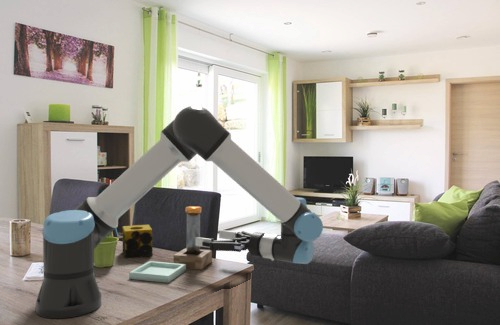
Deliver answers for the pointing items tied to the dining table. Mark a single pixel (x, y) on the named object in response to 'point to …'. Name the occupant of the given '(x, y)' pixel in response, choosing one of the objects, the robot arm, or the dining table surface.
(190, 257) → the socket collar
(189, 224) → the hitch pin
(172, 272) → the tray
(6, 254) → the dining table surface
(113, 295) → the dining table surface
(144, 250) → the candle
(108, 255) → the plant pot
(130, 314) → the dining table surface
